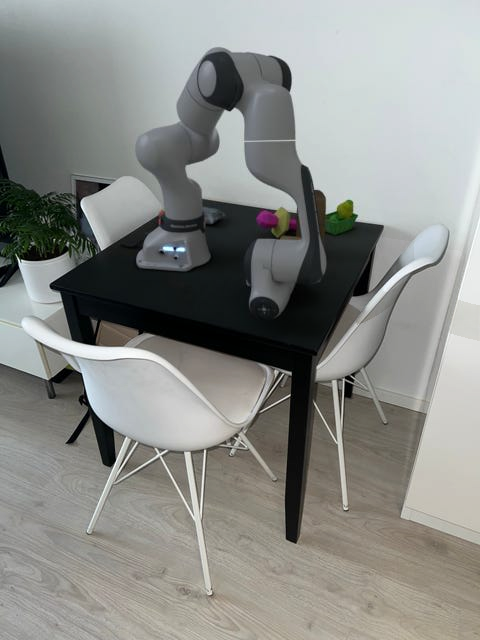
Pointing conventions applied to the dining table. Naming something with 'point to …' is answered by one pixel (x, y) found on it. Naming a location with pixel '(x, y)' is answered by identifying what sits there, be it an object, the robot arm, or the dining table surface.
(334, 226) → the fruit basket
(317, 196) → the block
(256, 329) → the dining table surface
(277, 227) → the toy
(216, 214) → the packaged food
